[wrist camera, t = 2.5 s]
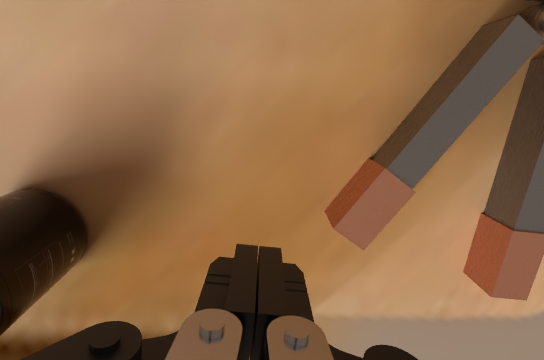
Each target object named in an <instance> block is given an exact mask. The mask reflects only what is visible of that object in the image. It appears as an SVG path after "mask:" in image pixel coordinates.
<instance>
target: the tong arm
mask: <svg viewBox="0 0 544 360" xmlns="http://www.w3.org/2000/svg"><path fill="white" fill-rule="evenodd" d="M543 41H544V39H543V38H542V37H541V36H540V35H539V34H538V33H537V32H536V31H535V30H534V29H533V28H532V27H531V26H530V25H529V24H528V23H527V22H526V21H525V20H524V19H523V18H522V17H521V16H520V15H519V14H518V15H515V16H512V17H508V18H505V19H502V20H499V21H496V22H493V23H490V24H486V25H483V26H482V27H481V29H480V30H479V31H478V32H477V33H476V35H475V36H474V37H473V38H472V39H471V41H470V42H469V43H468V44H467V45H466V46H465V48H464V49H463V50H462V51H461V52H460V54H459V55H458V56H457V57H456V58H455V60H454V61H453V62H452V63H451V64H450V66H449V67H448V68H447V69H446V70H445V72H444V73H443V74H442V75H441V76H440V78H439V79H438V80H437V81H436V82H435V84H434V85H433V86H432V87H431V88H430V90H429V91H428V92H427V93H426V94H425V96H424V97H423V98H422V99H421V100H420V102H419V103H418V104H417V105H416V106H415V108H414V109H413V110H412V111H411V112H410V114H409V115H408V116H407V117H406V118H405V120H404V121H403V122H402V123H401V124H400V126H399V127H398V128H397V129H396V130H395V132H394V133H393V134H392V135H391V136H390V138H389V139H388V140H387V141H386V142H385V144H384V145H383V146H382V147H381V148H380V150H379V151H378V152H377V153H376V154H375V155H374V157H373V158H372V159H368V160H367V161H366V162H365V163H364V165H363V166H362V167H361V168H360V169H359V171H358V172H357V173H356V174H355V175H354V177H353V178H352V179H351V180H350V181H349V183H348V184H347V185H346V186H345V187H344V189H343V190H342V191H341V192H340V193H339V195H338V196H337V197H336V198H335V199H334V201H333V202H332V203H331V204H330V205H329V207H328V208H327V209H326V210H325V213H326V215H327V217H328V219H329V221H330V223H331V225H332V227H333V229H334V230H336V231H337V232H339V233H340V234H341V235H343V236H344V237H346V238H347V239H348V240H350V241H351V242H353V243H354V244H355V245H357V246H358V247H360V248H361V249H362V250H364V249H365V248H366V247H367V246H368V245H369V244H370V243H371V242H372V241H373V239H374V238H375V237H376V236H377V235H378V234H379V233H380V232H381V230H382V229H383V228H384V227H385V226H386V225H387V224H388V223H389V221H390V220H391V219H392V218H393V217H394V216H395V215H396V214H397V212H398V211H399V210H400V209H401V208H402V207H403V206H404V205H405V204H406V202H407V201H408V200H409V199H410V198H411V197H412V196H413V195H414V193H415V191H414V190H412V189H413V188H414V187H415V185H416V184H417V183H418V182H419V181H420V180H421V179H422V178H423V176H424V175H425V174H426V173H427V172H428V171H429V170H430V168H431V167H432V166H433V165H434V164H435V163H436V162H437V161H438V159H439V158H440V157H441V156H442V155H443V154H444V153H445V152H446V150H447V149H448V148H449V147H450V146H451V145H452V144H453V143H454V141H455V140H456V139H457V138H458V137H459V136H460V135H461V134H462V132H463V131H464V130H465V129H466V128H467V127H468V126H469V125H470V123H471V122H472V121H473V120H474V119H475V118H476V117H477V115H478V114H479V113H480V112H481V111H482V110H483V109H484V108H485V106H486V105H487V104H488V103H489V102H490V101H491V100H492V99H493V97H494V96H495V95H496V94H497V93H498V92H499V91H500V90H501V88H502V87H503V86H504V85H505V84H506V83H507V82H508V81H509V79H510V78H511V77H512V76H513V75H514V74H515V73H516V72H517V70H518V69H519V68H520V67H521V66H522V65H523V64H524V63H525V61H526V60H527V59H528V58H529V57H530V56H531V55H532V53H533V52H534V51H535V50H536V49H537V48H538V47H539V46H540V44H541V43H542V42H543Z"/></svg>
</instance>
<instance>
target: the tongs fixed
mask: <svg viewBox="0 0 544 360" xmlns="http://www.w3.org/2000/svg"><path fill="white" fill-rule="evenodd" d="M528 1H535V2H542V4H538V5H535V6H532V7H530V8H528V9H526V10H525V11H524V12H523V13H522V14H521V15H520V16H521V17H522V18H523V19H524V20H525V21H526V22H527V23H528V24H529V25H530V26H531V27H532V28H533V29H534V30H535V31H536V32H537V33H538V34H539V35H540V36H541V37H542V38H543V39H544V0H528ZM541 44H544V41H543V42H542V43H541ZM543 255H544V58H540V59H532V60H531V62H530V65H529V69H528V72H527V75H526V78H525V82H524V85H523V88H522V91H521V95H520V98H519V101H518V104H517V108H516V111H515V114H514V117H513V121H512V124H511V127H510V130H509V134H508V137H507V140H506V143H505V147H504V150H503V153H502V156H501V160H500V163H499V166H498V169H497V173H496V176H495V179H494V182H493V186H492V189H491V192H490V195H489V199H488V202H487V205H486V208H485V212H484V214H482V213H481V216H480V219H479V223H478V226H477V229H476V232H475V236H474V239H473V242H472V246H471V249H470V252H469V255H468V259H467V262H466V265H465V269H464V273H465V274H466V275H467V276H468V277H469V278H470V279H471V280H473V281H474V282H475V283H476V284H477V285H478V286H479V287H480V288H481V289H483V290H484V291H485V292H486V293H487V294H488V295H489V296H490V297H496V298H507V299H517V300H527V298H528V295H529V292H530V290H531V287H532V284H533V282H534V279H535V276H536V274H537V271H538V268H539V265H540V263H541V260H542V257H543Z"/></svg>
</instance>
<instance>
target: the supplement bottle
mask: <svg viewBox="0 0 544 360" xmlns="http://www.w3.org/2000/svg"><path fill="white" fill-rule="evenodd" d="M86 243H87V233H86V228H85V225H84V222H83V220H82V218H81V216H80V215H79V213H78V212H77V211H76V210H75V208H74V207H73V206H72V205H71V204H69V203H68V202H67V201H65V200H64V199H62V198H61V197H59V196H57V195H55V194H52V193H49V192H46V191H42V190H34V189H28V190H20V191H16V192H12V193H10V194H7V195H4V196H2V197H0V335H1V334H2V333H3V332H5V331H6V330H7V329H8V328H9V327H10V326H11V325H12V324H13V323H14V322H15V321H16V320H17V319H18V318H19V317H21V316H22V315H23V314H24V313H25V312H26V311H27V310H28V309H29V308H30V307H31V306H32V305H33V304H34V303H35V302H36V301H38V300H39V299H40V298H41V297H42V296H43V295H44V294H45V293H46V292H47V291H48V290H49V289H50V288H51V287H52V286H54V285H55V284H56V283H57V282H58V281H59V280H60V279H61V278H62V277H63V276H64V275H65V274H66V273H67V272H68V271H69V270H70V269H71V268H72V267H73V266H74V265H75V264H76V263H77V262H78V261H79V260H80V258H81V257H82V255H83V253H84V251H85V248H86Z"/></svg>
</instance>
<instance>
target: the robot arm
mask: <svg viewBox="0 0 544 360" xmlns="http://www.w3.org/2000/svg"><path fill="white" fill-rule="evenodd" d="M257 257H258V263H257ZM249 357H250V360H418V359H417V358H415V357H414V356H412V355H411V354H409V353H408V352H406V351H403V350H402V349H399V348H397V347H393V346H389V345H375V346H372V347H370V348H369V349H367V350H366V352H365V353H364V357H363V358H361V357H357V356H355V355H352V354H349V353H346V352H343V351H341V350H338V349H336V348H334V347H333V346H331V345H330V344H328V342H327V339H326V336H325V334H324V332H323V331H322V330H321V328H320V327H319V326H318V325H316V324H315V323H314V320H313V315H312V311H311V306H310V301H309V297H308V293H307V288H306V285H305V279H304V274H303V272H302V271H301V270H300V269H299V268H298V267H297V266H296V264H289V263H283V262H282V253H281V248H275V247H265V246H260V247H259V254H258V246H254V245H244V244H237V246H236V251H235V256H234V258H227V257H218V258H217V259H216V260H215V261H214V262H212V263H211V264H210V267H209V270H208V273H207V276H206V279H205V283H204V285H203V288H202V291H201V294H200V297H199V300H198V303H197V306H196V309H195V312H194V313H193V314H191V315H190V316H188V317H187V318H186V319H185V320H184V322H183V323H182V325H181V327H180V329H179V331H177V332H175V333H172V334H169V335H166V336H161V337H156V338H149V339H143V340H142V335H141V332H140V330H139V329H138V328H137V327H136V326H134V325H132V324H130V323H127V322H122V321H110V322H104V323H99V324H96V325H93V326H91V327H89V328H86V329H84V330H82V331H80V332H78V333H76V334H74V335H72V336H69V337H67V338H65V339H63V340H61V341H59V342H57V343H55V344H52V345H50V346H48V347H46V348H44V349H42V350H40V351H38V352H36V353H33V354H31V355H29V356H27V357H25V358H23V359H21V360H249Z"/></svg>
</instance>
